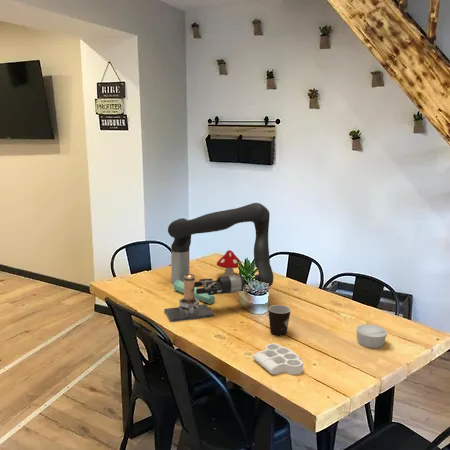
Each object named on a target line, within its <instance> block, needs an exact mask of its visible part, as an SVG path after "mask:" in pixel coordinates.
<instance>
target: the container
mask: <svg viewBox="0 0 450 450" xmlns="http://www.w3.org/2000/svg"><path fill="white" fill-rule="evenodd" d="M172 286H173V290H174V291H175V292H179V293H182V294H183V295H184V282H182V281H181V280H177V281H176V282H175V283H174V284H172ZM199 288H200V287H194V298H196V299H198V301H199V302H203V303H204V304H206V305H211V304H214V302H215V301H216V297H215V295H208V294H205V293H204V294H197V293H196V289H199Z"/></svg>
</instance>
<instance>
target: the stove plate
mask: <svg viewBox="0 0 450 450" xmlns="http://www.w3.org/2000/svg"><path fill="white" fill-rule="evenodd" d="M178 302H179V303H178V304H179V306H176V307H167V308H163V309H164V310H163V312H164V314H165V315H166V317H167V319H168V320H169V322H170V323H176V322H184V321H190V320H197V319H198V320H199V319H205V318H214V317H215V313H214V312H213V311H212V309H211V308H210V306H208V304H207V303H202V304H200V303H199V302H200V300H198V299H196V298H194V303H190V304H188V303H184V297H182V298H181V299H179V301H178ZM184 307H185V308H189V310H186V309H184Z"/></svg>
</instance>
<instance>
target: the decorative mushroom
mask: <svg viewBox="0 0 450 450" xmlns="http://www.w3.org/2000/svg"><path fill="white" fill-rule="evenodd" d="M221 256H222V257H220V259H218V260H217V262H216V266H218V267H219V268H222V269H225V270H224V273H223V276H233V275H235V270H234V269H236V268H239V267H238V260H239V261H240V262H241V263H243V262H242V261H241V259H239V258H238V256H237V255H236V254H235V253H234V251H232V250H229V249H228V250H227V251H226V252H224V253H223V255H221ZM237 259H238V260H237Z"/></svg>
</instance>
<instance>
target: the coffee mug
mask: <svg viewBox="0 0 450 450" xmlns="http://www.w3.org/2000/svg"><path fill="white" fill-rule="evenodd" d="M291 310H292V309H291V308H290V307H289V306H287V305H282V304H281V305H280V304H274V305H270V306H269V307H268V320H269V332H270V334H271V335H272V336H274V337H284V336H287V335H288V334H287V332H288V327H289V323H290V322H289V321H290V315H291Z"/></svg>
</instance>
